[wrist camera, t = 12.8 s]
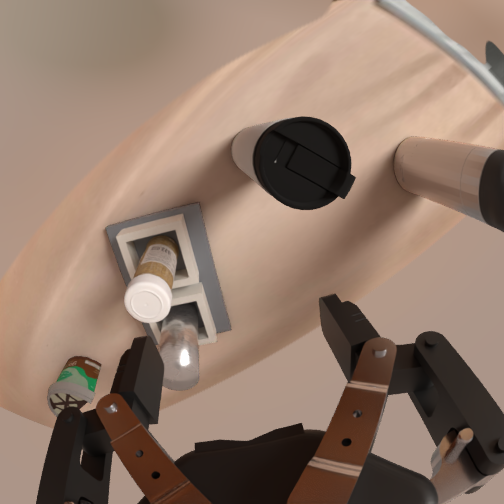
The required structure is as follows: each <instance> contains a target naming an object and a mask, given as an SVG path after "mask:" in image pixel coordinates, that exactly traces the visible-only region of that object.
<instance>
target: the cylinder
mask: <svg viewBox="0 0 504 504" xmlns="http://www.w3.org/2000/svg"><path fill="white" fill-rule="evenodd" d="M158 352H159V354H160V356H161V358H162V360H163V363H164V377H163V385H162V386H164V387H166V388H168V389H171V390H178V391H182V390H187V389H190V388H192V387H194V386H195V385H196V384H197V383H198V381H199V344H198V309H197V307H196V306H195V304H194V303H192V302H189V303H184V304H179V305H174V306H171V308H170V311H169V313H168V315H167V316H166V317H165V318H164V319H163V323H162V329H161V335H160V341H159V348H158Z"/></svg>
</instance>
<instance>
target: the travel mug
mask: <svg viewBox="0 0 504 504" xmlns="http://www.w3.org/2000/svg"><path fill="white" fill-rule="evenodd" d="M231 154H232V158H233V160H234V163H235V164H236V165H237V167H239V168H240V169H241V170H242V171H243V172H244V173H245V174H247V175H248V176H249V177H250V178H251V179H252V180H254V181H255V182H256V183H257V184H258V185H259V186H260V187H262V188H263V189H264V190H265V191H266V192H267V193H269V194H270V195H272V196H273V197H274V198H275V199H276V200H278V201H279V202H281V203H283V204H284V205H286V206H289V207H291V208H294V209H300V210H313V209H317V208H321V207H323V206H326V205H328V204H329V203H331V202H332V201H334V200H335V199H336V198H337V197H338V196H339V197H341V198H343V199H345V197H346V196H347V194H348V192H349V191H350V189H351V187H352V185H353V183H354V181H355V178H356V177H354V176H353V175H351V174H350V173H351V156H350V151H349V149H348V146H347V143H346V142H345V140H344V138H343V137H342V135H341V134H340V133H339V132H338V131H337V130H336V129H335V128H334V127H332V126H331V125H330V124H328V123H326V122H324V121H322V120H320V119H317V118H313V117H295V118H287V119H281V120H276V121H272V122H268V123H263V124H259V125H255V126H251V127H248V128H245V129H243V130H242V131H240V132H239V133H238V134H237V135H236V137H235V138H234V140H233V143H232V147H231Z"/></svg>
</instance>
